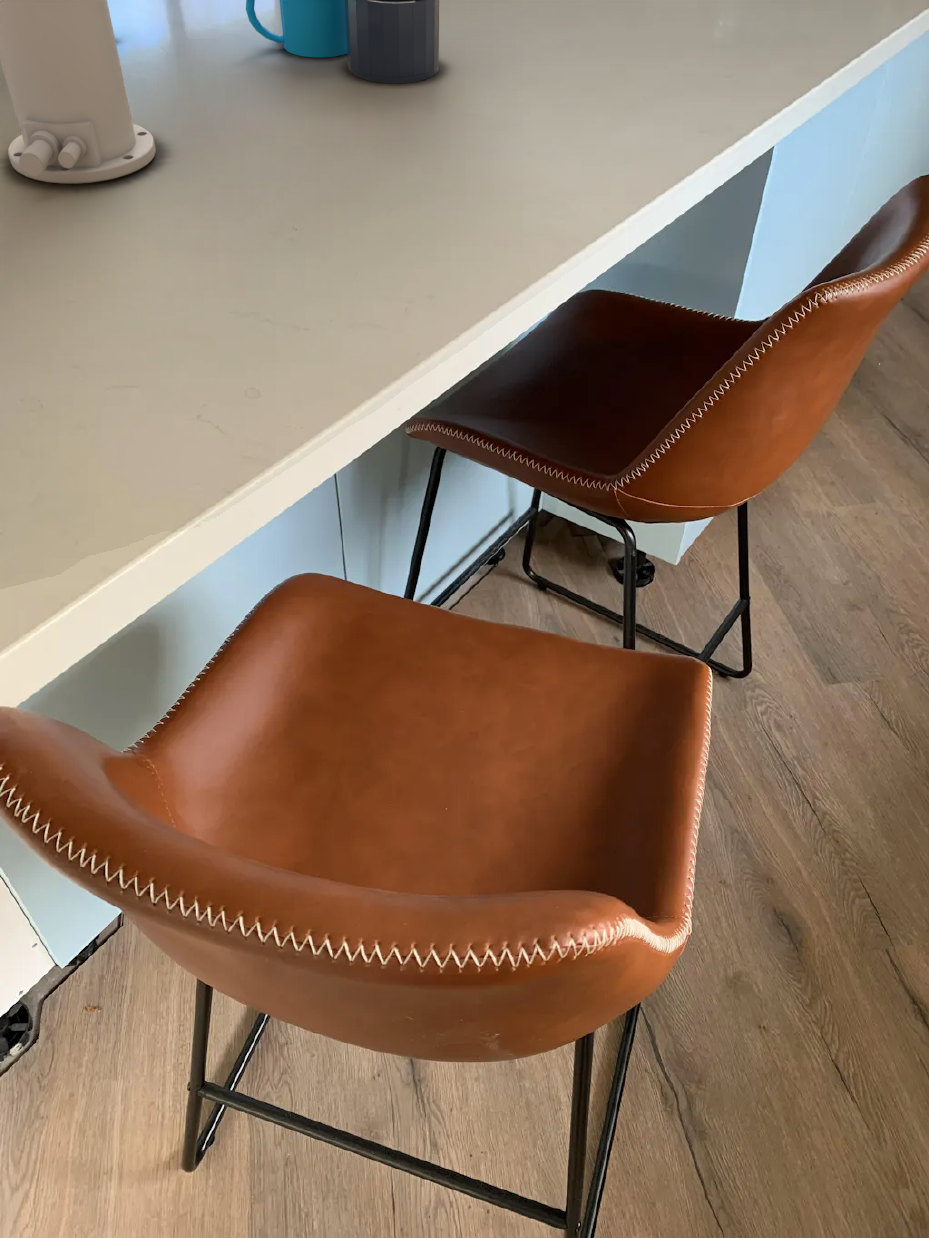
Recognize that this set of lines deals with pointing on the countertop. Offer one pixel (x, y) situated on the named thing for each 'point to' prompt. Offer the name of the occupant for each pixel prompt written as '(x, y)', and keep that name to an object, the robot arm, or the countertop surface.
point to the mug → (308, 27)
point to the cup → (392, 39)
